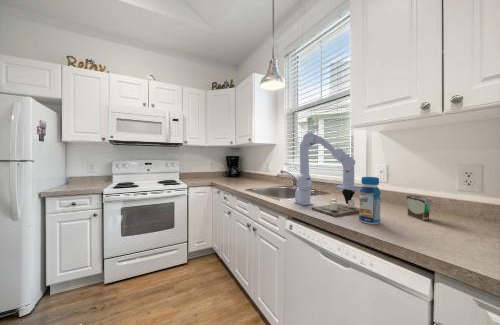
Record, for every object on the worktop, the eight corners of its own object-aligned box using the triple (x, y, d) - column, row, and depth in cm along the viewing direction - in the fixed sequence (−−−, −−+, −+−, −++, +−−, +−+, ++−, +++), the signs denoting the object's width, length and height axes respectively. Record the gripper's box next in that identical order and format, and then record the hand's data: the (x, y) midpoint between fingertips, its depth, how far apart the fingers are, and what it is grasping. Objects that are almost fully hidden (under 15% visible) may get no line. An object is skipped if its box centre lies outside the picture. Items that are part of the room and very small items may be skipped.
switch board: (311, 209, 114) (311, 206, 114) (339, 205, 123) (339, 203, 123) (335, 216, 99) (335, 213, 99) (364, 211, 109) (364, 209, 109)
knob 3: (348, 206, 112) (348, 200, 112) (351, 206, 113) (351, 199, 113) (351, 207, 110) (351, 201, 110) (354, 207, 111) (354, 200, 111)
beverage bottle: (384, 225, 87) (384, 178, 87) (362, 224, 89) (363, 178, 88) (376, 219, 95) (376, 176, 95) (356, 218, 97) (356, 176, 97)
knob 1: (330, 205, 114) (330, 199, 114) (333, 205, 116) (333, 198, 116) (333, 206, 113) (333, 199, 113) (336, 205, 114) (336, 199, 114)
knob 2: (330, 209, 106) (330, 202, 106) (333, 208, 107) (333, 201, 107) (333, 210, 104) (333, 203, 104) (337, 209, 106) (337, 202, 105)
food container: (439, 222, 92) (440, 200, 91) (425, 222, 92) (426, 199, 92) (417, 214, 104) (418, 195, 104) (405, 214, 104) (405, 194, 104)
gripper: (332, 178, 118) (332, 201, 118) (355, 180, 104) (354, 207, 105) (341, 177, 121) (341, 200, 121) (364, 180, 108) (364, 205, 108)
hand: (348, 203), depth 113 cm, fingers closed
